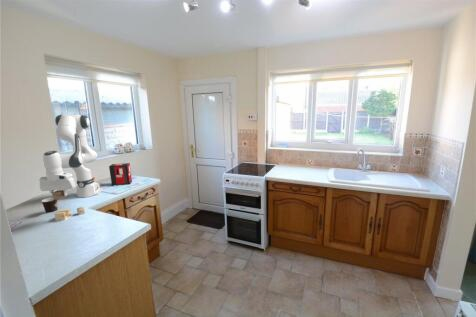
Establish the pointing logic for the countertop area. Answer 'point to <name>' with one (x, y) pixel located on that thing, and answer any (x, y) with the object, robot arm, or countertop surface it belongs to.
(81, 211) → the maple dowel
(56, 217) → the oak block
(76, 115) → the robot arm
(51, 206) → the coffee mug
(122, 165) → the cleaning product box
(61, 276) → the countertop surface
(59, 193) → the walnut cube
